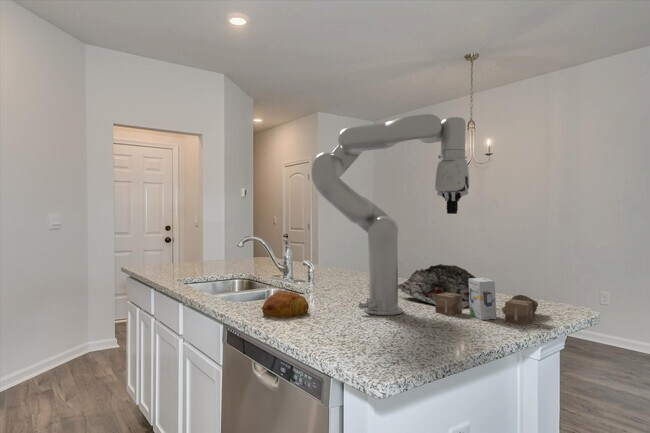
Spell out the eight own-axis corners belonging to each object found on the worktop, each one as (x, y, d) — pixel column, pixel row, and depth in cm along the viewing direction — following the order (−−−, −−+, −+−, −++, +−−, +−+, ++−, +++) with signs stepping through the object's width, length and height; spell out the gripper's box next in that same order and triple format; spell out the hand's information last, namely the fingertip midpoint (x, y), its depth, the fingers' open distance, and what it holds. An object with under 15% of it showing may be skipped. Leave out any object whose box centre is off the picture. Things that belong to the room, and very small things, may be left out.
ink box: (496, 320, 126) (496, 281, 126) (480, 320, 126) (480, 281, 126) (483, 313, 135) (483, 277, 135) (468, 313, 135) (467, 277, 135)
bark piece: (490, 290, 149) (426, 268, 174) (484, 273, 146) (419, 254, 170) (460, 327, 142) (398, 300, 167) (453, 311, 139) (390, 285, 163)
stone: (507, 303, 141) (523, 286, 138) (527, 320, 137) (544, 303, 134) (496, 311, 131) (513, 292, 128) (517, 329, 127) (535, 311, 124)
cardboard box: (451, 316, 132) (451, 296, 132) (435, 312, 137) (435, 294, 137) (462, 313, 136) (462, 294, 136) (446, 310, 141) (446, 292, 141)
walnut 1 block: (527, 325, 120) (526, 304, 120) (505, 322, 124) (505, 302, 124) (532, 321, 125) (532, 301, 125) (511, 318, 128) (511, 298, 128)
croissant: (281, 313, 147) (279, 290, 148) (316, 312, 138) (314, 288, 138) (251, 320, 135) (249, 295, 136) (287, 320, 126) (285, 293, 127)
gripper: (426, 158, 138) (425, 213, 138) (467, 153, 126) (466, 213, 126) (440, 160, 142) (439, 213, 142) (480, 155, 131) (479, 214, 131)
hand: (452, 213), depth 134 cm, fingers closed
